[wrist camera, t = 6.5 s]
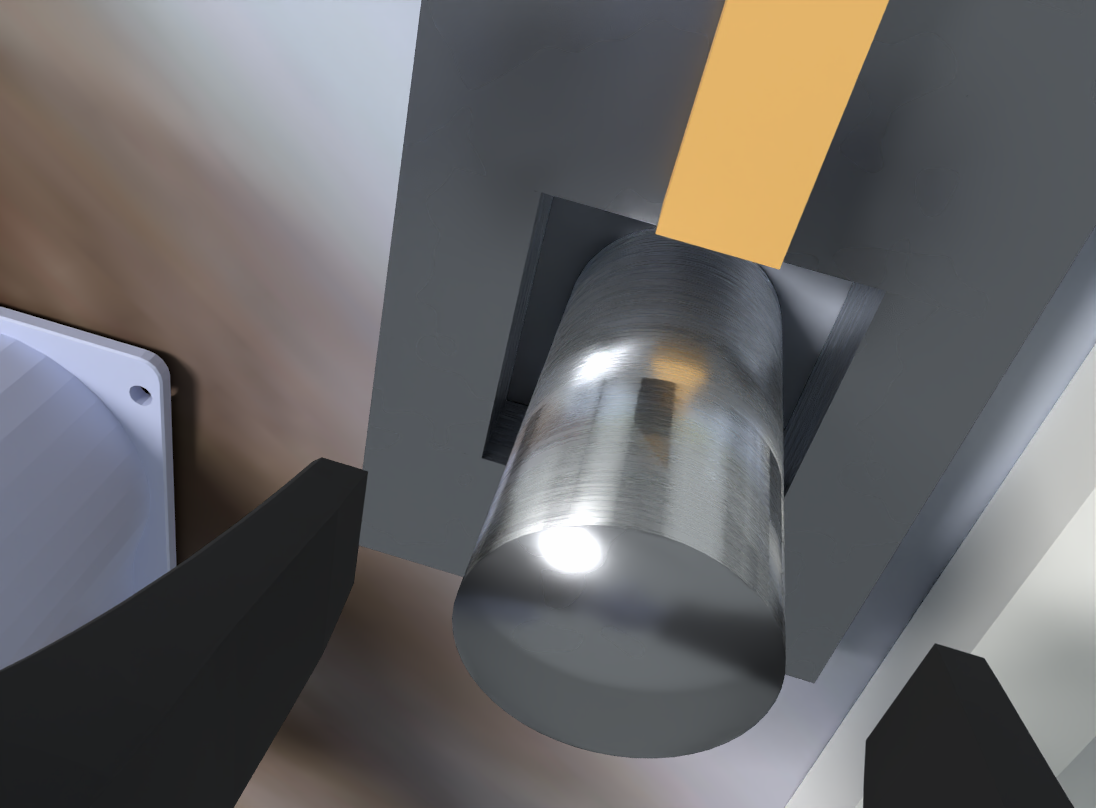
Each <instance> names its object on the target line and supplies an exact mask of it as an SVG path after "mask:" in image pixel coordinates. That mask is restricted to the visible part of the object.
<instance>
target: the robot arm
mask: <svg viewBox="0 0 1096 808" xmlns="http://www.w3.org/2000/svg"><path fill="white" fill-rule="evenodd" d="M140 386H141V387H143V388H145V389H147V390H148V392H149V393H150V394H151V395H149V394H147V393H145V392H144V391H143V389H142V388H141V387H140ZM367 477H368V471H365V470H362V469H358V468H355V467H352V466H349V465H345V464H342V463H339V462H335V461H332V460H329V459H325V458H320V459H317V460H315V461H313V462H312V463H310V464H309V465H308V466H307V467H306V468H305V469H303V470H302V471H301V472H300V473H299V474H297V475H296V476H295V477H294V478H293V479H291V480H290V481H289V482H288V483H287V484H285V485H284V486H283V487H282V488H280V489H279V490H278V491H277V492H276V493H274V494H273V495H272V496H271V497H269V498H268V499H267V500H266V501H264V502H263V503H262V504H261V505H259V506H258V507H257V508H255V509H254V510H253V511H251V512H250V513H249V514H248V515H246V516H245V517H244V518H242V519H241V520H240V521H239V522H237V523H236V524H235V525H233V526H232V527H230V528H229V529H228V530H226V531H225V532H224V533H222V534H221V535H219V536H218V537H217V538H215V539H214V540H213V541H211V542H210V543H209V544H207V545H206V546H204V547H203V548H202V549H200V550H199V551H198V552H196V553H195V554H193V555H192V556H191V557H189V558H188V559H186V560H185V561H183V562H182V563H181V564H179V565H178V566H176V538H175V508H174V478H173V448H172V418H171V388H170V373H169V369H168V367H167V365H166V364H165V362H164V361H163V360H162V359H161V358H160V357H159V356H158V355H157V354H155V353H153V352H150V351H148V350H145V349H142V348H139V347H135V346H132V345H129V344H125V343H122V342H119V341H115V340H112V339H108V338H105V337H102V336H98V335H95V334H92V333H88V332H85V331H82V330H78V329H75V328H72V327H68V326H65V325H61V324H58V323H55V322H51V321H48V320H45V319H41V318H38V317H35V316H31V315H28V314H24V313H21V312H18V311H14V310H11V309H8V308H4V307H1V306H0V808H234V806H235V804H236V803H237V801H238V799H239V798H240V796H241V794H242V792H243V791H244V789H245V787H246V786H247V784H248V782H249V780H250V779H251V777H252V775H253V774H254V772H255V770H256V768H257V767H258V765H259V763H260V762H261V760H262V758H263V756H264V755H265V753H266V751H267V750H268V748H269V746H270V744H271V743H272V741H273V739H274V738H275V736H276V734H277V732H278V731H279V729H280V727H281V726H282V724H283V722H284V720H285V719H286V717H287V715H288V714H289V712H290V710H291V708H292V707H293V705H294V703H295V701H296V700H297V698H298V696H299V694H300V693H301V691H302V689H303V688H304V686H305V684H306V682H307V681H308V679H309V677H310V675H311V674H312V672H313V670H314V668H315V667H316V665H317V663H318V661H319V660H320V658H321V656H322V654H323V652H324V650H325V648H326V646H327V643H328V641H329V639H330V637H331V634H332V632H333V630H334V628H335V625H336V623H337V621H338V619H339V616H340V614H341V612H342V609H343V607H344V605H345V602H346V600H347V598H348V595H349V593H350V591H351V588H352V586H353V584H354V577H355V570H356V562H357V554H358V547H359V539H360V531H361V523H362V516H363V508H364V500H365V493H366V485H367ZM863 808H1074V806H1073V805H1072V803H1071V801H1070V800H1069V798H1068V797H1067V795H1066V793H1065V792H1064V790H1063V788H1062V787H1061V785H1060V783H1059V782H1058V780H1057V778H1056V777H1055V775H1054V773H1053V772H1052V770H1051V768H1050V767H1049V765H1048V763H1047V762H1046V760H1045V758H1044V757H1043V755H1042V753H1041V752H1040V750H1039V748H1038V747H1037V745H1036V743H1035V742H1034V740H1033V738H1032V737H1031V735H1030V733H1029V731H1028V730H1027V728H1026V726H1025V725H1024V723H1023V721H1022V720H1021V718H1020V716H1019V714H1018V713H1017V711H1016V709H1015V708H1014V706H1013V704H1012V703H1011V701H1010V699H1009V698H1008V696H1007V694H1006V692H1005V691H1004V689H1003V687H1002V686H1001V684H1000V682H999V681H998V679H997V677H996V676H995V674H994V673H993V671H992V669H991V668H990V666H989V665H988V663H987V661H986V660H985V658H983V657H979V656H976V655H973V654H969V653H966V652H963V651H960V650H956V649H953V648H950V647H946V646H943V645H940V644H936V643H935V644H934V645H933V646H932V648H931V649H930V651H929V652H928V653H927V655H926V656H925V658H924V659H923V661H922V662H921V663H920V665H919V666H918V668H917V669H916V670H915V672H914V673H913V675H912V676H911V677H910V679H909V680H908V682H907V683H906V684H905V686H904V687H903V689H902V690H901V691H900V693H899V694H898V696H897V697H896V698H895V700H894V701H893V703H892V704H891V706H890V707H889V708H888V710H887V711H886V713H885V714H884V715H883V717H882V718H881V720H880V721H879V722H878V724H877V725H876V727H875V728H874V729H873V731H872V732H871V734H870V735H869V736H868V738H867V739H866V744H865V764H864V784H863Z"/></svg>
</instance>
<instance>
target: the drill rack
mask: <svg viewBox="0 0 1096 808" xmlns="http://www.w3.org/2000/svg"><path fill="white" fill-rule="evenodd" d="M935 643H936V644H940V645H943V646H946V647H950V648H953V649H956V650H960V651H963V652H966V653H969V654H973V655H976V656H979V657H983V658H985V660H986V661H987V663H988V665H989V666H990V668H991V669H992V671H993V673H994V674H995V676H996V677H997V679H998V681H999V682H1000V684H1001V686H1002V687H1003V689H1004V691H1005V692H1006V694H1007V696H1008V698H1009V699H1010V701H1011V703H1012V704H1013V706H1014V708H1015V709H1016V711H1017V713H1018V714H1019V716H1020V718H1021V720H1022V721H1023V723H1024V725H1025V726H1026V728H1027V730H1028V731H1029V733H1030V735H1031V737H1032V738H1033V740H1034V742H1035V743H1036V745H1037V747H1038V748H1039V750H1040V752H1041V753H1042V755H1043V757H1044V758H1045V760H1046V762H1047V763H1048V765H1049V767H1050V768H1051V770H1052V772H1053V773H1054V775H1055V777H1056V778H1057V780H1058V782H1059V783H1060V785H1061V787H1062V788H1063V790H1064V792H1065V793H1066V795H1067V797H1068V798H1069V800H1070V801H1071V803H1072V805H1073V806H1074V808H1096V344H1095V345H1094V347H1093V348H1092V350H1091V351H1090V353H1089V354H1088V356H1087V357H1086V359H1085V360H1084V362H1083V363H1082V365H1081V366H1080V368H1079V369H1078V371H1077V372H1076V374H1075V375H1074V377H1073V378H1072V380H1071V381H1070V383H1069V384H1068V386H1067V387H1066V389H1065V390H1064V392H1063V393H1062V395H1061V396H1060V397H1059V399H1058V400H1057V402H1056V403H1055V405H1054V406H1053V408H1052V409H1051V411H1050V412H1049V414H1048V415H1047V417H1046V418H1045V420H1044V421H1043V423H1042V424H1041V426H1040V427H1039V429H1038V430H1037V432H1036V433H1035V435H1034V436H1033V438H1032V439H1031V441H1030V442H1029V444H1028V445H1027V447H1026V448H1025V450H1024V451H1023V453H1022V454H1021V456H1020V457H1019V459H1018V460H1017V462H1016V463H1015V465H1014V466H1013V468H1012V469H1011V471H1010V472H1009V474H1008V475H1007V477H1006V478H1005V480H1004V481H1003V483H1002V484H1001V486H1000V487H999V489H998V490H997V492H996V493H995V495H994V496H993V498H992V499H991V501H990V502H989V504H988V505H987V507H986V508H985V509H984V511H983V512H982V514H981V515H980V517H979V518H978V520H977V521H976V523H975V524H974V526H973V527H972V529H971V530H970V532H969V533H968V535H967V536H966V538H965V539H964V541H963V542H962V544H961V545H960V547H959V548H958V550H957V551H956V553H955V554H954V556H953V557H952V559H951V560H950V562H949V563H948V565H947V566H946V568H945V569H944V571H943V572H942V574H941V575H940V577H939V578H938V580H937V581H936V583H935V584H934V586H933V587H932V589H931V590H930V592H929V593H928V595H927V596H926V598H925V599H924V601H923V602H922V604H921V605H920V607H919V608H918V610H917V611H916V613H915V614H914V616H913V617H912V618H911V620H910V621H909V623H908V624H907V626H906V627H905V629H904V630H903V632H902V633H901V635H900V636H899V638H898V639H897V641H896V642H895V644H894V645H893V647H892V648H891V650H890V651H889V653H888V654H887V656H886V657H885V659H884V660H883V662H882V663H881V665H880V666H879V668H878V669H877V671H876V672H875V674H874V675H873V677H872V678H871V680H870V681H869V683H868V684H867V686H866V687H865V689H864V690H863V692H862V693H861V695H860V696H859V698H858V699H857V701H856V702H855V704H854V705H853V707H852V708H851V710H850V711H849V713H848V714H847V716H846V717H845V719H844V720H843V722H842V723H841V725H840V726H839V728H838V729H837V730H836V732H835V733H834V735H833V736H832V738H831V739H830V741H829V742H828V744H827V745H826V747H825V748H824V750H823V751H822V753H821V754H820V756H819V757H818V759H817V760H816V762H815V763H814V765H813V766H812V768H811V769H810V771H809V772H808V774H807V775H806V777H805V778H804V780H803V781H802V783H801V784H800V786H799V787H798V789H797V790H796V792H795V793H794V795H793V796H792V798H791V799H790V801H789V802H788V804H787V805H786V807H785V808H863V784H864V764H865V744H866V739H867V738H868V736H869V735H870V734H871V732H872V731H873V729H874V728H875V727H876V725H877V724H878V722H879V721H880V720H881V718H882V717H883V715H884V714H885V713H886V711H887V710H888V708H889V707H890V706H891V704H892V703H893V701H894V700H895V698H896V697H897V696H898V694H899V693H900V691H901V690H902V689H903V687H904V686H905V684H906V683H907V682H908V680H909V679H910V677H911V676H912V675H913V673H914V672H915V670H916V669H917V668H918V666H919V665H920V663H921V662H922V661H923V659H924V658H925V656H926V655H927V653H928V652H929V651H930V649H931V648H932V646H933V645H934V644H935Z"/></svg>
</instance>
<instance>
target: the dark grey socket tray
mask: <svg viewBox="0 0 1096 808" xmlns="http://www.w3.org/2000/svg"><path fill="white" fill-rule="evenodd" d="M724 3H725V0H422V1H421V9H420V17H419V25H418V33H417V41H416V49H415V57H414V65H413V73H412V81H411V88H410V96H409V104H408V112H407V120H406V128H405V136H404V144H403V152H402V160H401V168H400V176H399V184H398V192H397V200H396V208H395V216H394V224H393V232H392V240H391V248H390V256H389V264H388V272H387V280H386V288H385V296H384V304H383V311H382V319H381V327H380V335H379V343H378V351H377V359H376V367H375V375H374V383H373V391H372V399H371V407H370V415H369V423H368V431H367V439H366V447H365V455H364V463H363V470H365V471H368V477H367V485H366V493H365V500H364V508H363V516H362V523H361V531H360V539H359V545H360V546H363V547H366V548H370V549H373V550H376V551H380V552H383V553H386V554H389V555H393V556H396V557H399V558H403V559H406V560H409V561H413V562H416V563H419V564H423V565H426V566H429V567H432V568H436V569H439V570H442V571H446V572H449V573H452V574H456V575H459V576H462V577H464V574H465V572H466V569H467V566H468V564H469V561H470V559H471V556H472V553H473V551H474V548H475V545H476V543H477V540H478V538H479V535H480V532H481V530H482V527H483V524H484V522H485V519H486V517H487V514H488V511H489V509H490V506H491V503H492V501H493V498H494V495H495V493H496V490H497V488H498V485H499V482H500V480H501V477H502V474H503V472H504V469H505V467H506V464H507V461H508V459H509V456H510V453H511V451H512V448H513V446H514V443H515V440H516V438H517V435H518V432H519V430H520V427H521V424H522V422H523V419H524V417H525V414H526V411H527V409H528V406H525V405H521V404H518V403H515V402H511V401H508V400H506V397H507V393H508V389H509V385H510V380H511V376H512V372H513V367H514V363H515V359H516V354H517V350H518V346H519V341H520V337H521V333H522V329H523V324H524V320H525V316H526V311H527V307H528V303H529V298H530V294H531V290H532V286H533V281H534V277H535V273H536V268H537V264H538V260H539V255H540V251H541V247H542V242H543V238H544V234H545V230H546V225H547V221H548V217H549V212H550V208H551V204H552V199H553V196H556V197H559V198H562V199H566V200H569V201H573V202H576V203H580V204H583V205H587V206H590V207H594V208H597V209H601V210H604V211H608V212H611V213H615V214H618V215H622V216H625V217H629V218H632V219H636V220H639V221H643V222H646V223H650V224H653V225H658V221H659V217H660V213H661V209H662V205H663V201H664V198H665V195H666V191H667V188H668V185H669V182H670V178H671V175H672V172H673V169H674V165H675V162H676V159H677V156H678V153H679V149H680V146H681V143H682V140H683V136H684V133H685V130H686V127H687V123H688V120H689V117H690V114H691V110H692V107H693V104H694V101H695V97H696V94H697V91H698V88H699V84H700V81H701V78H702V75H703V71H704V68H705V65H706V62H707V59H708V55H709V52H710V49H711V46H712V42H713V39H714V36H715V33H716V29H717V26H718V23H719V20H720V16H721V13H722V10H723V7H724ZM1095 226H1096V0H889V2H888V4H887V7H886V9H885V12H884V14H883V16H882V19H881V21H880V24H879V26H878V29H877V31H876V34H875V36H874V39H873V41H872V43H871V46H870V48H869V51H868V53H867V56H866V58H865V61H864V63H863V66H862V68H861V71H860V73H859V75H858V78H857V80H856V83H855V85H854V88H853V90H852V93H851V95H850V98H849V100H848V102H847V105H846V107H845V110H844V112H843V115H842V117H841V120H840V122H839V125H838V127H837V129H836V132H835V134H834V137H833V139H832V142H831V144H830V147H829V149H828V152H827V154H826V157H825V159H824V161H823V164H822V166H821V169H820V171H819V174H818V176H817V179H816V181H815V184H814V186H813V188H812V191H811V193H810V196H809V198H808V201H807V203H806V206H805V208H804V211H803V213H802V215H801V218H800V220H799V223H798V225H797V228H796V230H795V233H794V235H793V238H792V240H791V243H790V245H789V247H788V250H787V252H786V255H785V257H784V260H783V262H786V263H789V264H793V265H796V266H800V267H803V268H807V269H810V270H814V271H817V272H821V273H824V274H828V275H831V276H835V277H838V278H842V279H845V280H849V281H852V282H854V283H853V285H852V287H851V289H850V292H849V294H848V296H847V298H846V300H845V302H844V304H843V307H842V309H841V311H840V313H839V315H838V317H837V320H836V322H835V324H834V326H833V328H832V330H831V332H830V335H829V337H828V339H827V341H826V343H825V345H824V348H823V350H822V352H821V354H820V356H819V358H818V360H817V363H816V365H815V367H814V369H813V371H812V373H811V376H810V378H809V380H808V382H807V384H806V386H805V388H804V391H803V393H802V395H801V397H800V399H799V401H798V404H797V406H796V408H795V410H794V412H793V414H792V416H791V419H790V421H789V423H788V425H787V427H786V429H785V431H784V434H783V451H784V538H785V625H786V667H785V674H786V675H789V676H792V677H795V678H799V679H802V680H805V681H809V682H812V683H815V681H816V680H817V678H818V676H819V675H820V673H821V672H822V670H823V668H824V667H825V665H826V663H827V662H828V660H829V659H830V657H831V655H832V654H833V652H834V650H835V649H836V647H837V646H838V644H839V642H840V641H841V639H842V637H843V636H844V634H845V633H846V631H847V629H848V628H849V626H850V624H851V623H852V621H853V619H854V618H855V616H856V615H857V613H858V611H859V610H860V608H861V606H862V605H863V603H864V602H865V600H866V598H867V597H868V595H869V593H870V592H871V590H872V589H873V587H874V585H875V584H876V582H877V580H878V579H879V577H880V576H881V574H882V572H883V571H884V569H885V567H886V566H887V564H888V563H889V561H890V559H891V558H892V556H893V554H894V553H895V551H896V550H897V548H898V546H899V545H900V543H901V541H902V540H903V538H904V537H905V535H906V533H907V532H908V530H909V528H910V527H911V525H912V524H913V522H914V520H915V519H916V517H917V515H918V514H919V512H920V510H921V509H922V507H923V506H924V504H925V502H926V501H927V499H928V497H929V496H930V494H931V493H932V491H933V489H934V488H935V486H936V484H937V483H938V481H939V480H940V478H941V476H942V475H943V473H944V471H945V470H946V468H947V467H948V465H949V463H950V462H951V460H952V458H953V457H954V455H955V454H956V452H957V450H958V449H959V447H960V445H961V444H962V442H963V441H964V439H965V437H966V436H967V434H968V432H969V431H970V429H971V428H972V426H973V424H974V423H975V421H976V419H977V418H978V416H979V415H980V413H981V411H982V410H983V408H984V406H985V405H986V403H987V401H988V400H989V398H990V397H991V395H992V393H993V392H994V390H995V388H996V387H997V385H998V384H999V382H1000V380H1001V379H1002V377H1003V375H1004V374H1005V372H1006V371H1007V369H1008V367H1009V366H1010V364H1011V362H1012V361H1013V359H1014V358H1015V356H1016V354H1017V353H1018V351H1019V349H1020V348H1021V346H1022V345H1023V343H1024V341H1025V340H1026V338H1027V336H1028V335H1029V333H1030V332H1031V330H1032V328H1033V327H1034V325H1035V323H1036V322H1037V320H1038V319H1039V317H1040V315H1041V314H1042V312H1043V310H1044V309H1045V307H1046V305H1047V304H1048V302H1049V301H1050V299H1051V297H1052V296H1053V294H1054V292H1055V291H1056V289H1057V288H1058V286H1059V284H1060V283H1061V281H1062V279H1063V278H1064V276H1065V275H1066V273H1067V271H1068V270H1069V268H1070V266H1071V265H1072V263H1073V262H1074V260H1075V258H1076V257H1077V255H1078V253H1079V252H1080V250H1081V249H1082V247H1083V245H1084V244H1085V242H1086V240H1087V239H1088V237H1089V236H1090V234H1091V232H1092V231H1093V229H1094V227H1095Z"/></svg>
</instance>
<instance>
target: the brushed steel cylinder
mask: <svg viewBox="0 0 1096 808" xmlns="http://www.w3.org/2000/svg"><path fill="white" fill-rule="evenodd" d="M656 229H657V228H651V229H645V230H642V231H638V232H635V233H631V234H629V235H627V236H624V237H622V238H620V239H618V240H616V241H614V242H613V243H611V244H609V245H608V246H606V247H605V248H604V249H602V250H601V251H600V252H599V253H597V254H596V255H595V256H594V257H593V258H592V260H591V261H590V262H589V263H588V264H587V265H586V267H585V268H584V269H583V271H582V272H581V274H580V275H579V277H578V279H577V281H576V283H575V285H574V288H573V290H572V293H571V296H570V298H569V301H568V304H567V306H566V309H565V311H564V314H563V317H562V319H561V322H560V325H559V327H558V330H557V332H556V335H555V338H554V340H553V343H552V346H551V348H550V351H549V353H548V356H547V359H546V361H545V364H544V367H543V369H542V372H541V375H540V377H539V380H538V382H537V385H536V388H535V390H534V393H533V396H532V398H531V401H530V403H529V406H528V409H527V411H526V414H525V417H524V419H523V422H522V424H521V427H520V430H519V432H518V435H517V438H516V440H515V443H514V446H513V448H512V451H511V453H510V456H509V459H508V461H507V464H506V467H505V469H504V472H503V474H502V477H501V480H500V482H499V485H498V488H497V490H496V493H495V495H494V498H493V501H492V503H491V506H490V509H489V511H488V514H487V517H486V519H485V522H484V524H483V527H482V530H481V532H480V535H479V538H478V540H477V543H476V545H475V548H474V551H473V553H472V556H471V559H470V561H469V564H468V566H467V569H466V572H465V574H464V577H463V580H462V582H461V585H460V588H459V590H458V593H457V596H456V599H455V602H454V608H453V616H452V623H453V635H454V639H455V643H456V647H457V650H458V652H459V655H460V657H461V659H462V662H463V664H464V665H465V667H466V669H467V670H468V672H469V674H470V675H471V677H472V678H473V679H474V681H475V682H476V683H477V684H478V686H479V687H480V688H481V689H482V690H483V691H484V692H485V694H486V695H487V696H488V697H489V698H490V699H491V700H492V701H493V702H495V703H496V704H497V705H498V706H499V707H501V708H502V709H503V710H504V711H505V712H507V713H508V714H510V715H511V716H512V717H514V718H515V719H517V720H518V721H520V722H521V723H523V724H525V725H527V726H528V727H530V728H532V729H534V730H536V731H537V732H539V733H541V734H544V735H546V736H548V737H550V738H553V739H555V740H557V741H560V742H563V743H565V744H568V745H571V746H574V747H577V748H581V749H585V750H588V751H592V752H596V753H602V754H607V755H612V756H620V757H630V758H666V757H677V756H683V755H689V754H694V753H698V752H702V751H705V750H709V749H712V748H715V747H717V746H720V745H722V744H725V743H727V742H729V741H731V740H733V739H735V738H737V737H739V736H740V735H742V734H744V733H745V732H746V731H748V730H749V729H750V728H752V727H753V726H755V725H756V724H757V723H758V722H759V721H760V720H761V719H762V718H763V717H764V716H765V715H766V714H767V712H768V711H769V710H770V708H771V707H772V705H773V704H774V703H775V701H776V699H777V697H778V695H779V692H780V690H781V688H782V684H783V680H784V676H785V667H786V625H785V538H784V451H783V365H782V316H781V308H780V304H779V300H778V297H777V294H776V291H775V289H774V287H773V285H772V283H771V281H770V279H769V278H768V276H767V275H766V273H765V272H764V270H763V269H762V268H761V267H760V266H759V264H758V263H755V262H752V261H748V260H745V259H741V258H738V257H734V256H731V255H727V254H724V253H720V252H717V251H713V250H710V249H706V248H703V247H699V246H696V245H692V244H689V243H685V242H682V241H678V240H675V239H671V238H668V237H664V236H661V235H657V234H655V233H656Z"/></svg>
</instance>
